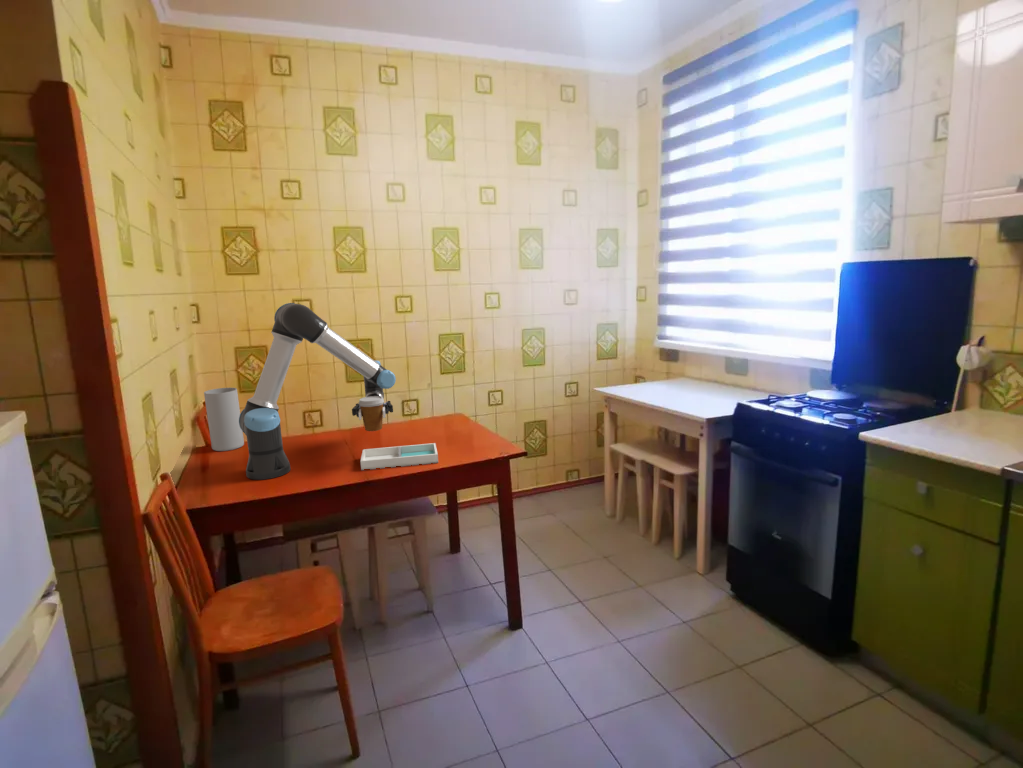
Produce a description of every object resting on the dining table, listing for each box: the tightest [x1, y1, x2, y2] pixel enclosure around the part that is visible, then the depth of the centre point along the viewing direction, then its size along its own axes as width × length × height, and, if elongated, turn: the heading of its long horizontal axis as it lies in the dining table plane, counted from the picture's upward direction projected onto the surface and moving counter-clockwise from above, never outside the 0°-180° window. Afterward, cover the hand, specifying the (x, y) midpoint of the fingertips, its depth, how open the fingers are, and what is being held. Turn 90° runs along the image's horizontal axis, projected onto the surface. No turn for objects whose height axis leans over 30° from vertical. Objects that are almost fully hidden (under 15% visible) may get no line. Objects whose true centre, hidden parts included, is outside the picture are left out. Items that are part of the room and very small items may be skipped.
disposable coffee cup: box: [358, 396, 385, 432], centre depth 213 cm, size 10×10×12 cm
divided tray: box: [359, 442, 439, 471], centre depth 216 cm, size 28×15×4 cm, turn 101°
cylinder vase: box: [203, 387, 245, 452], centre depth 239 cm, size 12×12×25 cm
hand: (371, 415), depth 208 cm, fingers closed on disposable coffee cup, 8 cm apart
